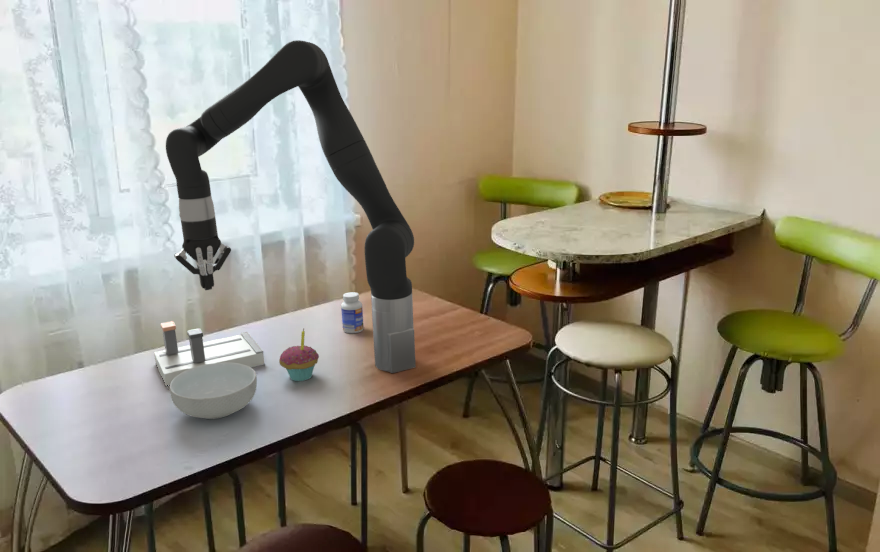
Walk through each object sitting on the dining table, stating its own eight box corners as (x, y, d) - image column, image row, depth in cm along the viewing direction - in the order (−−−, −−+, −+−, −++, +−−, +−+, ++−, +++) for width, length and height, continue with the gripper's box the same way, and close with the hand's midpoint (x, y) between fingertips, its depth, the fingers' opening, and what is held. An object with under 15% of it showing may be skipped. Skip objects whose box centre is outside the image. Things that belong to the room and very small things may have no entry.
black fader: (206, 361, 166) (202, 332, 164) (193, 364, 164) (189, 335, 162) (203, 356, 169) (199, 328, 166) (190, 358, 167) (186, 330, 165)
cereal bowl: (213, 439, 139) (208, 405, 137) (156, 418, 148) (151, 386, 146) (276, 402, 153) (273, 371, 151) (221, 385, 161) (217, 355, 159)
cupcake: (327, 372, 166) (323, 322, 163) (305, 388, 159) (301, 336, 155) (295, 366, 170) (291, 317, 166) (273, 381, 162) (268, 331, 159)
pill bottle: (360, 334, 188) (357, 298, 185) (339, 333, 189) (337, 297, 186) (366, 326, 193) (364, 291, 190) (346, 325, 194) (344, 290, 191)
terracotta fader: (179, 353, 170) (175, 325, 168) (166, 356, 169) (162, 328, 167) (176, 348, 173) (172, 321, 171) (164, 350, 172) (160, 323, 170)
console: (264, 364, 171) (263, 350, 170) (166, 386, 161) (163, 372, 160) (248, 344, 183) (247, 331, 182) (155, 363, 173) (153, 350, 172)
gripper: (170, 223, 160) (181, 298, 165) (231, 215, 166) (240, 288, 171) (164, 217, 166) (175, 290, 172) (223, 209, 172) (232, 280, 178)
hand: (208, 289), depth 171 cm, fingers closed
